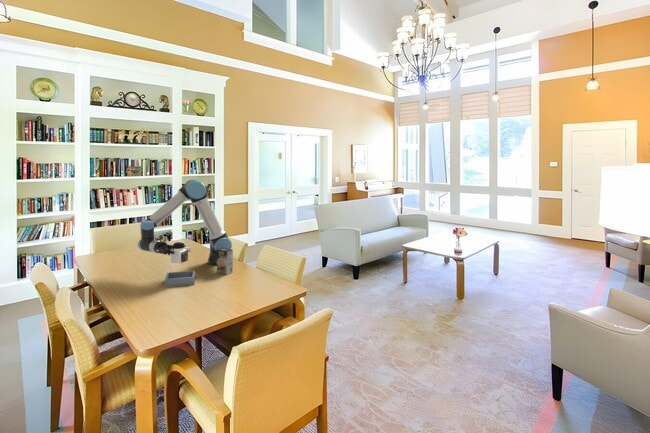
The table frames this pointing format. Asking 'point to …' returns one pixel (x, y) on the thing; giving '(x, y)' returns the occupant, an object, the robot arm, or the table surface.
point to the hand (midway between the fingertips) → (184, 251)
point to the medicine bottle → (182, 251)
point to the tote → (180, 278)
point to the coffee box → (224, 261)
